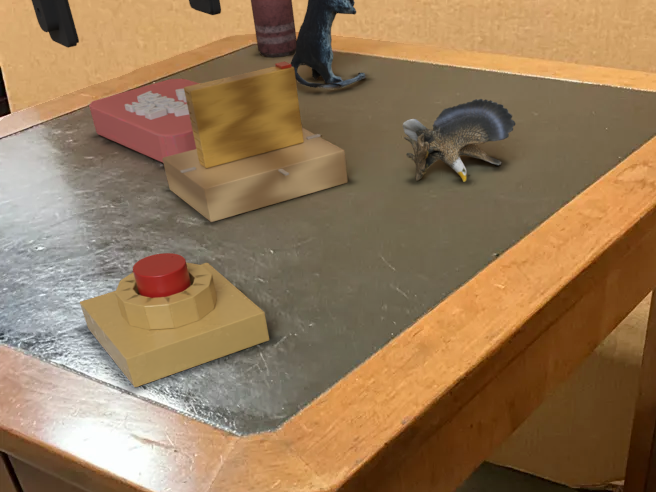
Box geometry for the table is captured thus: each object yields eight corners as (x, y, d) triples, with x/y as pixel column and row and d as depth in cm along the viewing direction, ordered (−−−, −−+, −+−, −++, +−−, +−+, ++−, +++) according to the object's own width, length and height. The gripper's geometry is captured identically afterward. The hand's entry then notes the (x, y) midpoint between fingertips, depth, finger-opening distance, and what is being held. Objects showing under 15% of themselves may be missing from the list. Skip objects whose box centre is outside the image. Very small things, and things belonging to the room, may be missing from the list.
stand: (219, 230, 78) (212, 194, 76) (160, 183, 87) (152, 150, 85) (360, 189, 83) (357, 153, 81) (290, 148, 92) (286, 116, 90)
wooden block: (206, 168, 80) (189, 88, 76) (199, 164, 81) (182, 84, 77) (304, 142, 84) (294, 64, 80) (296, 138, 85) (286, 60, 81)
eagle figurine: (445, 188, 79) (529, 146, 80) (408, 108, 77) (495, 67, 79) (419, 208, 86) (496, 169, 88) (385, 136, 84) (465, 98, 86)
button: (149, 305, 60) (143, 281, 59) (131, 286, 63) (124, 262, 61) (199, 289, 62) (193, 265, 60) (179, 271, 64) (174, 248, 63)
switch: (134, 388, 59) (118, 334, 57) (88, 329, 66) (71, 278, 63) (269, 340, 63) (260, 287, 60) (213, 288, 69) (202, 239, 67)
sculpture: (386, 86, 106) (376, -65, 96) (296, 98, 105) (277, -54, 95) (373, 68, 112) (362, -76, 102) (288, 78, 111) (269, -66, 101)
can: (259, 48, 122) (244, -56, 114) (299, 45, 122) (286, -59, 114) (255, 58, 118) (238, -49, 110) (295, 56, 118) (282, -52, 110)
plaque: (289, 93, 93) (165, 132, 86) (295, 131, 96) (175, 172, 89) (197, 64, 103) (80, 97, 96) (204, 100, 106) (90, 134, 99)
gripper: (172, -353, 51) (229, -7, 62) (-148, -343, 44) (-17, 45, 55) (236, -368, 46) (285, 9, 58) (-110, -359, 39) (25, 68, 51)
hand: (138, 26), depth 57 cm, fingers open, 9 cm apart
